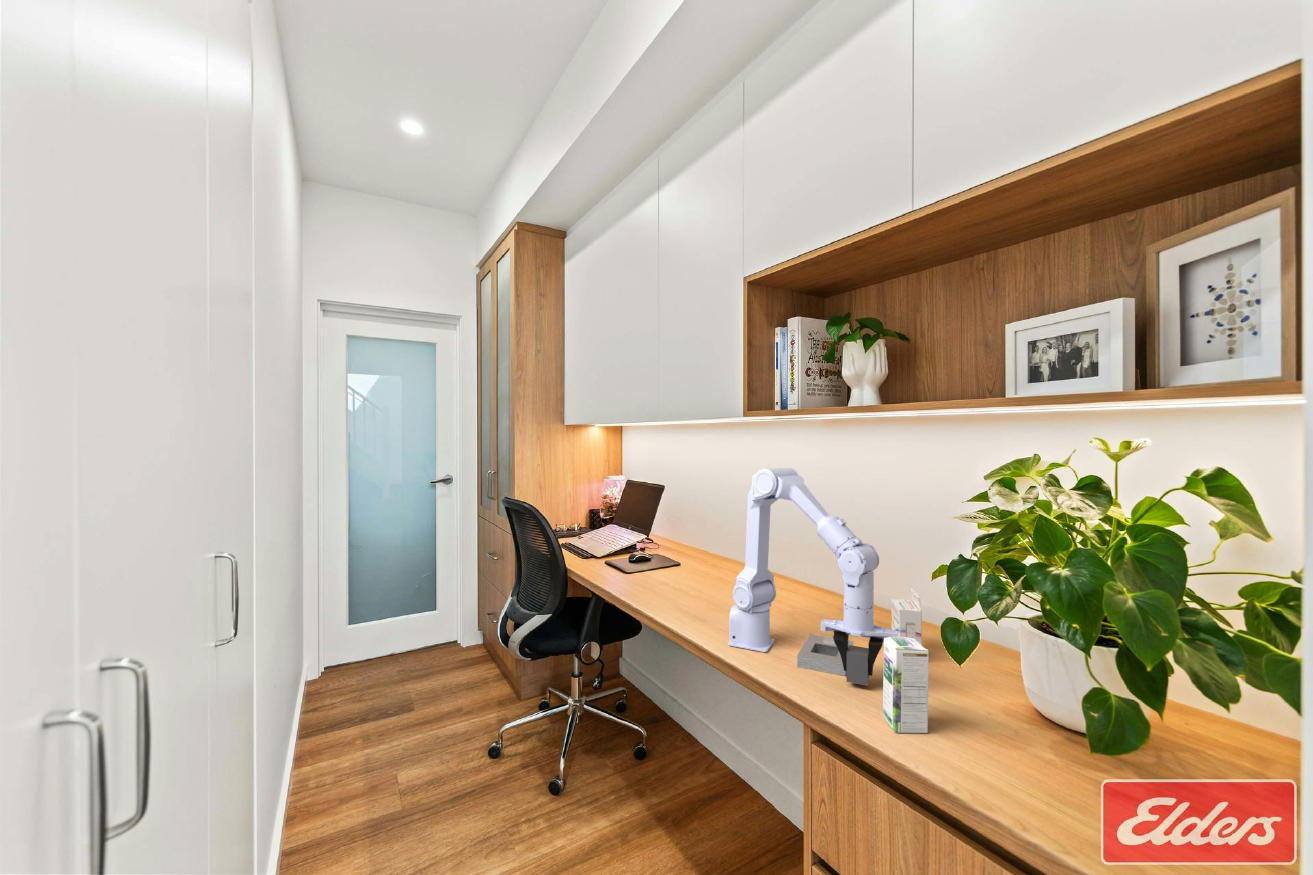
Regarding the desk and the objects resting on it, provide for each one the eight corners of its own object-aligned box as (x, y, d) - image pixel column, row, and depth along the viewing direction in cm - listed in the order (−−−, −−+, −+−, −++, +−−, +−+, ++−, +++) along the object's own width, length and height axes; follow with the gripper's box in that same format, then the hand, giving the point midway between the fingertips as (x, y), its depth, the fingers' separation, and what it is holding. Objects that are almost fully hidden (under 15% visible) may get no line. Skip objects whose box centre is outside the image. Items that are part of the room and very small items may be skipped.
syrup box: (881, 716, 96) (881, 636, 96) (914, 716, 96) (914, 636, 96) (894, 733, 90) (894, 648, 90) (930, 734, 90) (929, 649, 90)
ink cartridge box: (890, 646, 128) (890, 585, 128) (912, 647, 127) (912, 586, 127) (898, 661, 119) (898, 595, 119) (922, 663, 118) (922, 597, 118)
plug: (846, 681, 107) (846, 651, 107) (849, 673, 111) (849, 644, 111) (867, 685, 105) (867, 655, 105) (869, 677, 109) (869, 648, 109)
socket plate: (797, 666, 117) (797, 653, 117) (809, 644, 129) (809, 632, 129) (845, 676, 112) (845, 662, 112) (853, 651, 125) (853, 639, 125)
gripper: (818, 605, 108) (817, 671, 108) (896, 616, 101) (896, 687, 101) (824, 595, 114) (823, 658, 114) (898, 605, 107) (897, 672, 107)
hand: (858, 671), depth 108 cm, fingers closed on plug, 4 cm apart
